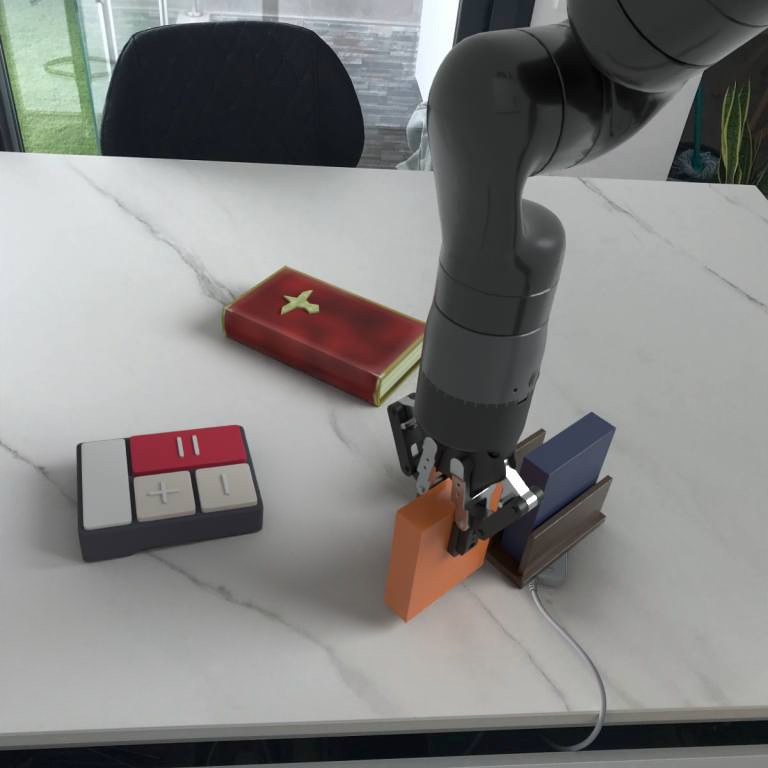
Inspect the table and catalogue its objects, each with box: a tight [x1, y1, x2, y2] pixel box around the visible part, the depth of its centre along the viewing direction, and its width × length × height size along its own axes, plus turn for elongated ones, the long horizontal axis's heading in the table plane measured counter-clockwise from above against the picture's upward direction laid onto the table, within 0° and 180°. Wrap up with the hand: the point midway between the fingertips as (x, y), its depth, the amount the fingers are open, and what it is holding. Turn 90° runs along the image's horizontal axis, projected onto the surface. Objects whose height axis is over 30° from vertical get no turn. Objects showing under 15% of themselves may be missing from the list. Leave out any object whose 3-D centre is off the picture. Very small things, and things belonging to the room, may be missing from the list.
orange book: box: [383, 478, 503, 624], centre depth 61 cm, size 3×9×11 cm, turn 132°
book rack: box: [416, 427, 614, 590], centre depth 71 cm, size 13×12×6 cm
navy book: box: [500, 411, 617, 562], centre depth 66 cm, size 3×9×11 cm, turn 132°
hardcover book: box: [221, 265, 426, 408], centre depth 89 cm, size 12×21×4 cm, turn 59°
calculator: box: [75, 424, 264, 563], centre depth 69 cm, size 11×4×15 cm
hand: (444, 535), depth 60 cm, fingers closed on orange book, 2 cm apart
